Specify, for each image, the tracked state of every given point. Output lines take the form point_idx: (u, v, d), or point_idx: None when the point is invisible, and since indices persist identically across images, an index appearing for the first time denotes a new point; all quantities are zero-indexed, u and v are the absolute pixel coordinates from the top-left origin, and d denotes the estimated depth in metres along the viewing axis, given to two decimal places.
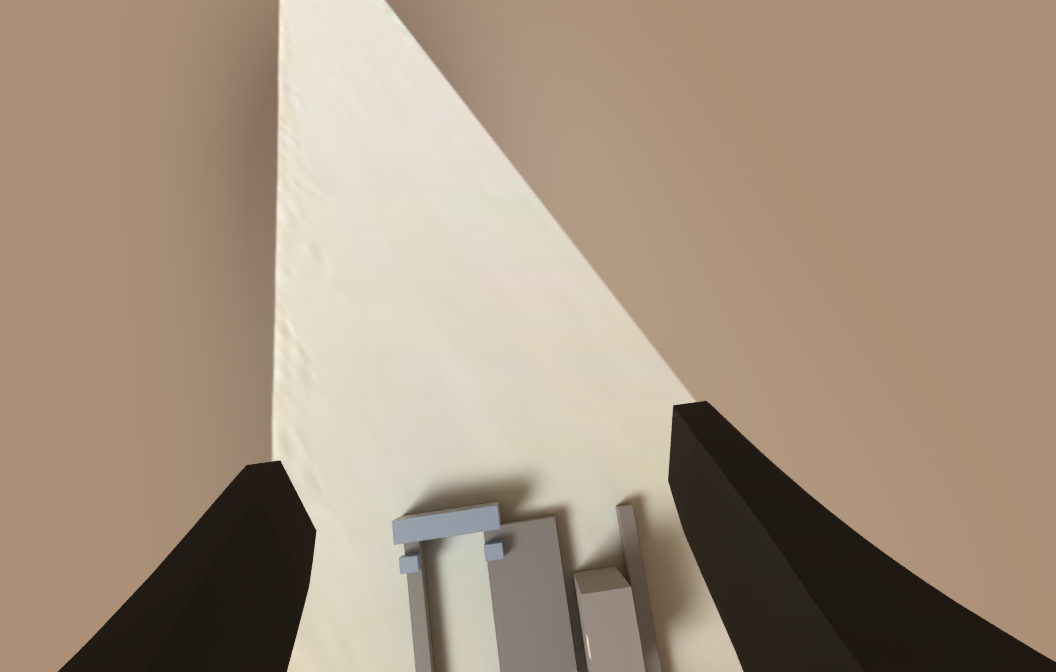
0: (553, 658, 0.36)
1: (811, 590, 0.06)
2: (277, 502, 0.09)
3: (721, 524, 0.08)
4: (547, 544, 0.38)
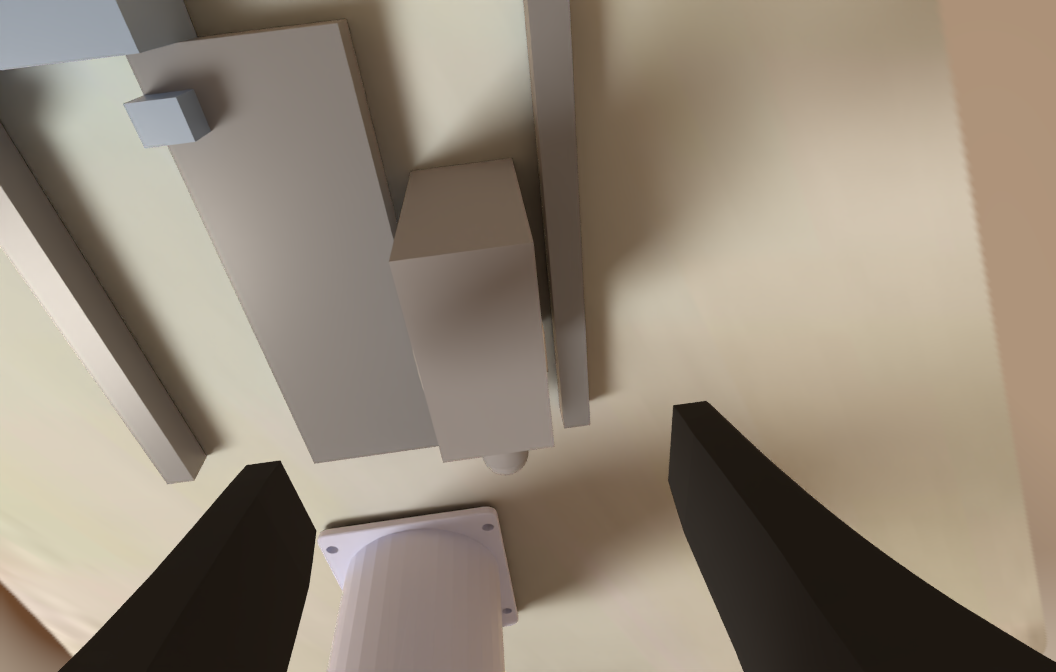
0: (373, 338, 0.18)
1: (811, 590, 0.06)
2: (277, 502, 0.09)
3: (721, 524, 0.08)
4: (327, 104, 0.14)
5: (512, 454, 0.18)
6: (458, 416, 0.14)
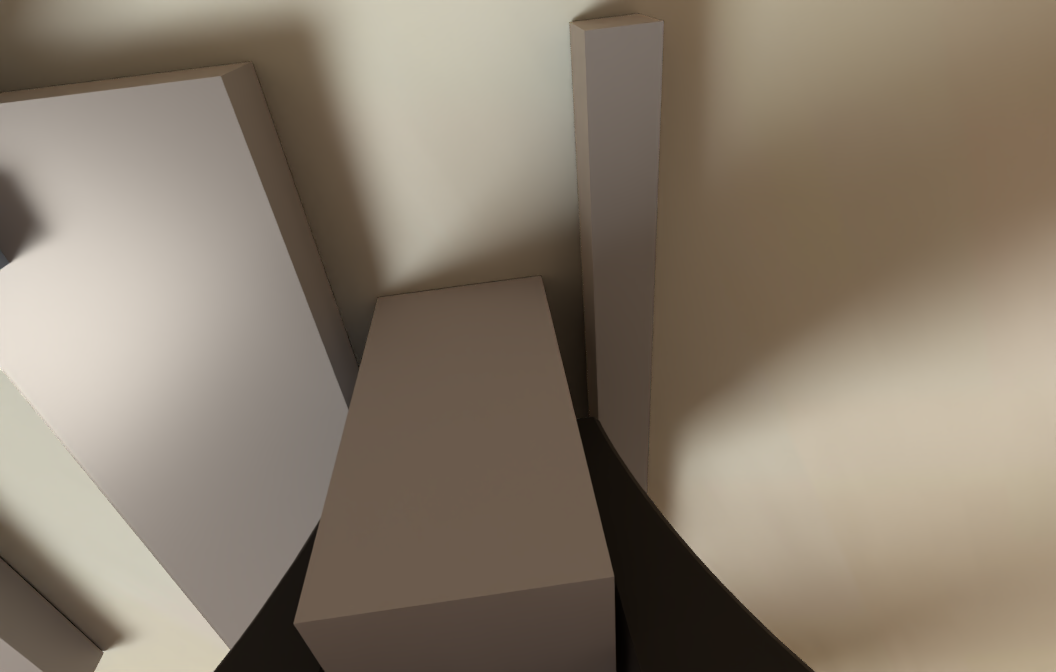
0: None
1: (631, 617, 0.06)
2: None
3: None
4: (217, 217, 0.08)
5: None
6: None
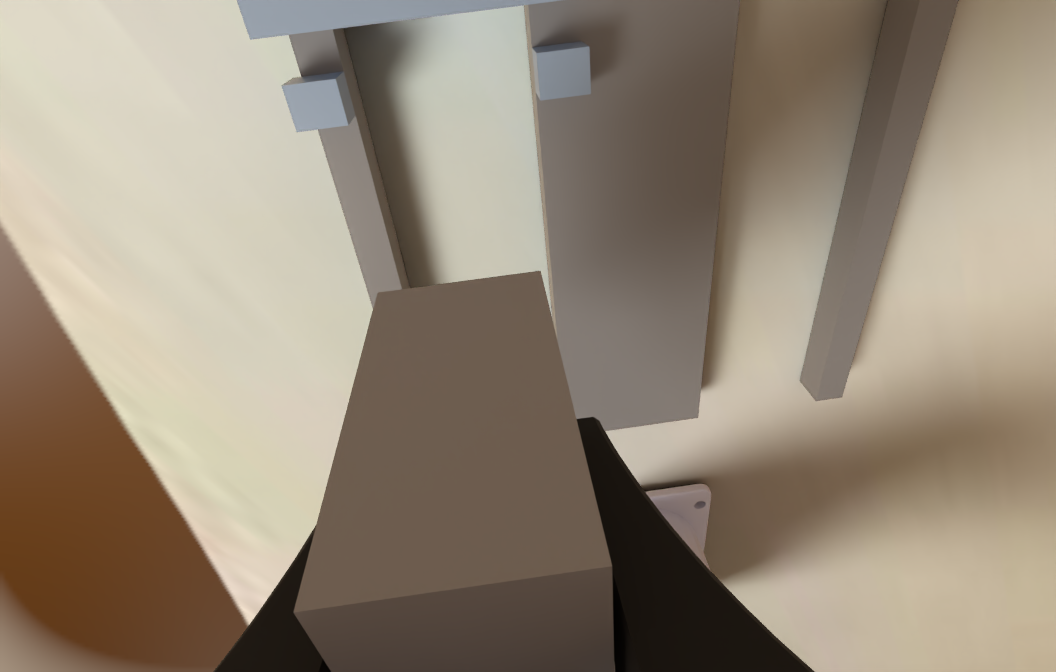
0: (666, 305, 0.18)
1: (631, 617, 0.06)
2: None
3: None
4: (704, 58, 0.14)
5: None
6: None
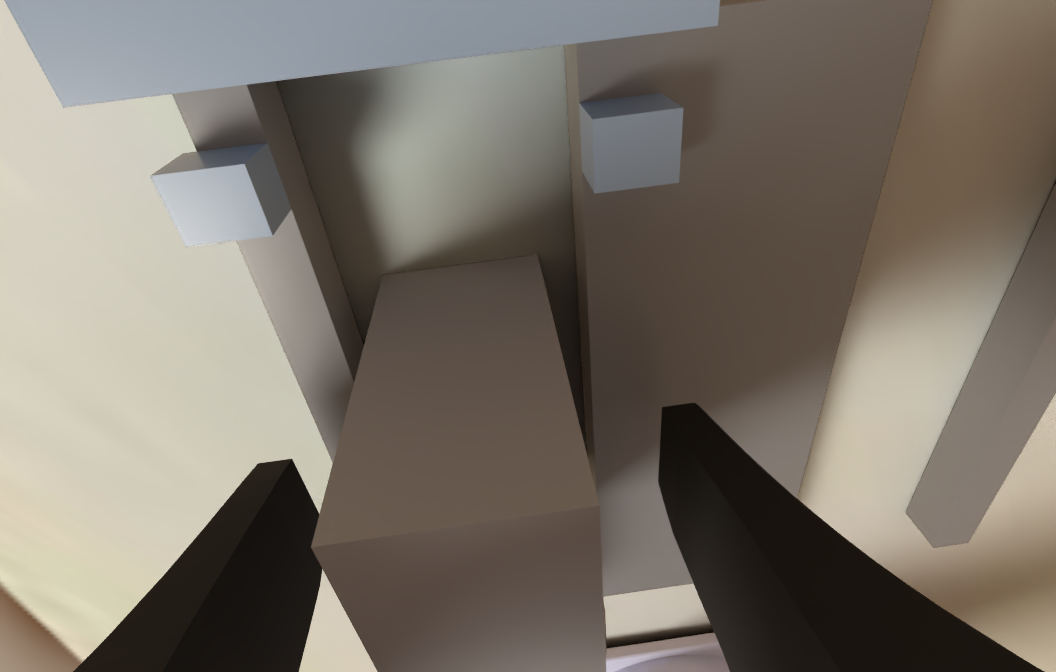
0: (751, 448, 0.12)
1: (793, 593, 0.06)
2: (289, 500, 0.09)
3: (708, 526, 0.08)
4: (853, 118, 0.08)
5: None
6: None
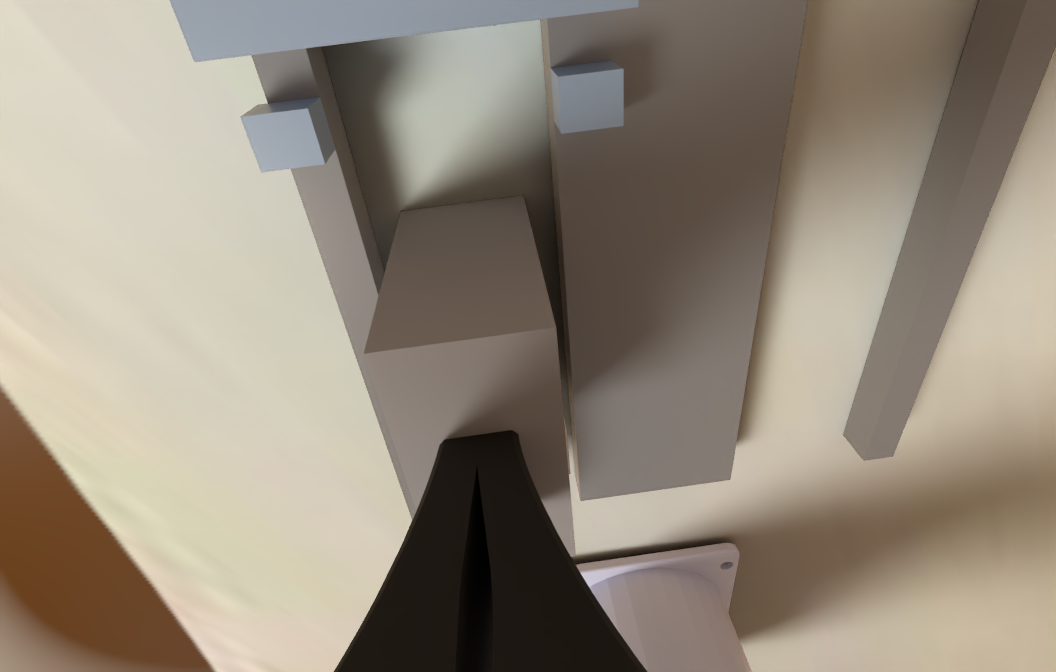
0: (699, 361, 0.15)
1: (499, 636, 0.06)
2: None
3: None
4: (758, 81, 0.11)
5: None
6: None
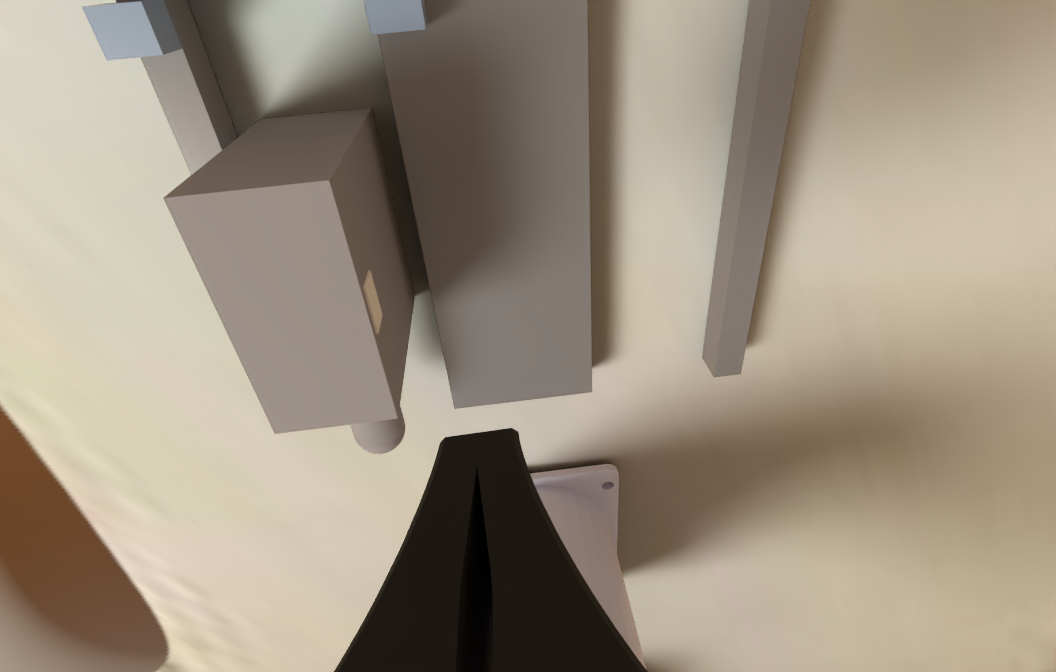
0: (544, 269, 0.17)
1: (499, 636, 0.06)
2: None
3: None
4: None
5: (381, 431, 0.17)
6: (282, 381, 0.13)
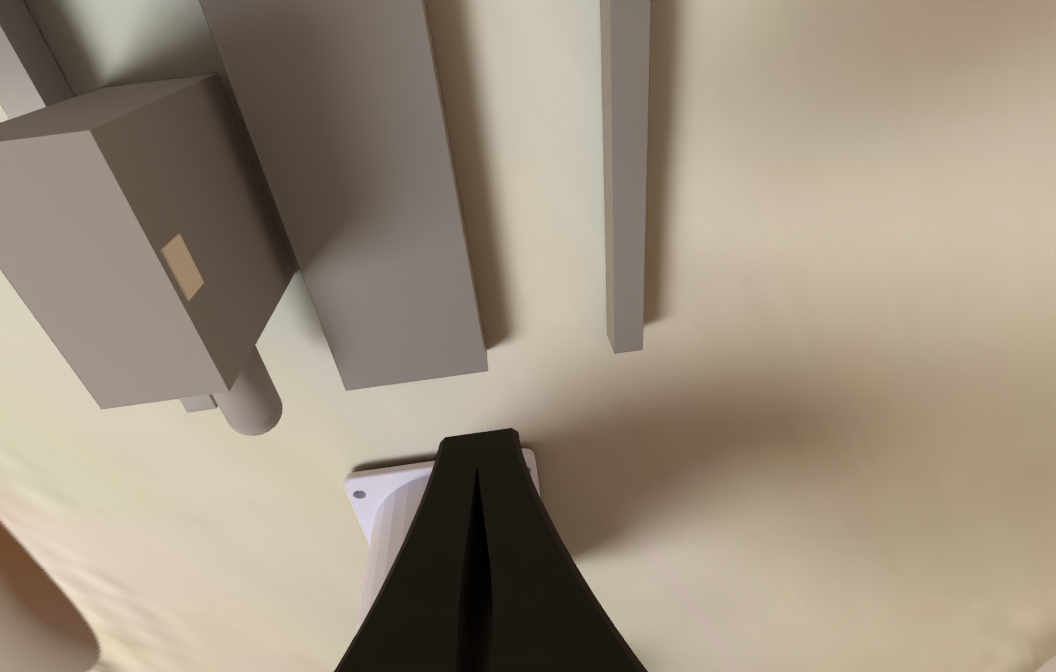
0: (415, 241, 0.16)
1: (499, 636, 0.06)
2: None
3: None
4: None
5: (247, 411, 0.16)
6: (95, 352, 0.12)
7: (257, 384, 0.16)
